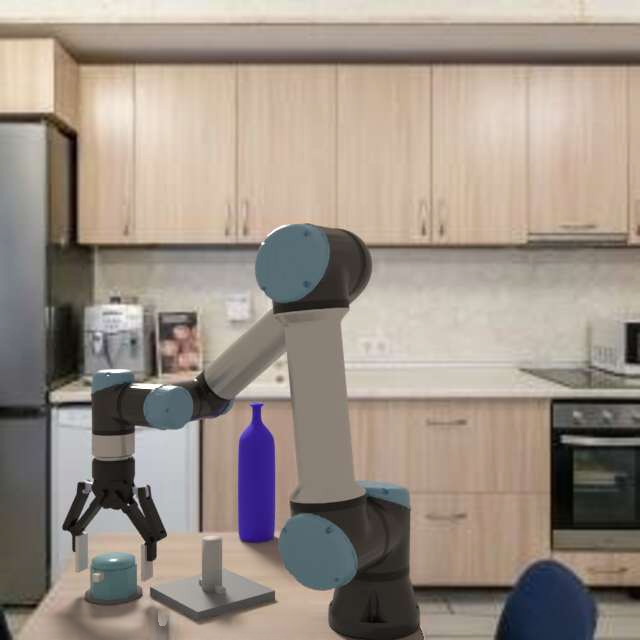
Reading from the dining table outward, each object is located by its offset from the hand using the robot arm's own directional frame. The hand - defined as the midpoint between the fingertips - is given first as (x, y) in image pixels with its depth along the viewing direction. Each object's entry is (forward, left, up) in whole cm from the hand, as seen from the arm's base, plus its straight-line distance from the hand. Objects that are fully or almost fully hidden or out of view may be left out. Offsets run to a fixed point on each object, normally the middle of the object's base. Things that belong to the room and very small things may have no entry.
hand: (113, 574), depth 151 cm
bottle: (+13, -41, -4) cm, 43 cm away
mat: (0, 0, -4) cm, 4 cm away
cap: (0, 0, -3) cm, 3 cm away
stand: (-12, -13, -4) cm, 18 cm away
